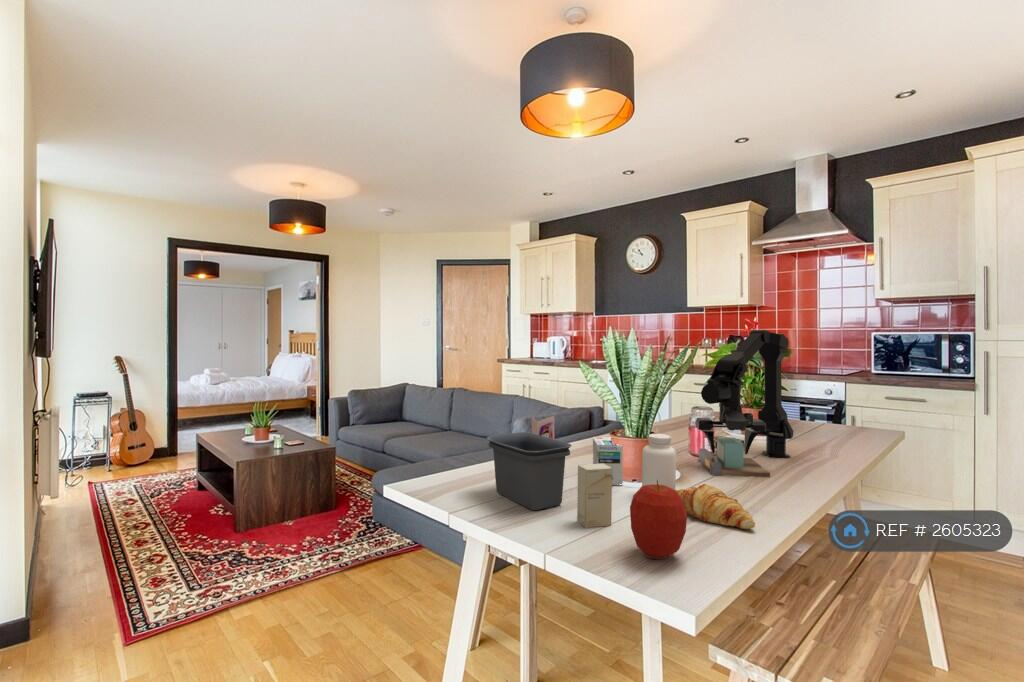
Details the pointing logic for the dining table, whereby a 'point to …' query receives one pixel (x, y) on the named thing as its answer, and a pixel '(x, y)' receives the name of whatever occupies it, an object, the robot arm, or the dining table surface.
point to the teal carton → (730, 452)
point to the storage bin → (529, 468)
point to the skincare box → (594, 495)
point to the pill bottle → (659, 462)
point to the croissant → (715, 507)
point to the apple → (658, 520)
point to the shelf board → (746, 469)
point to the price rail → (710, 461)
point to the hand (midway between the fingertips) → (729, 453)
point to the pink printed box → (543, 427)
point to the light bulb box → (609, 457)
